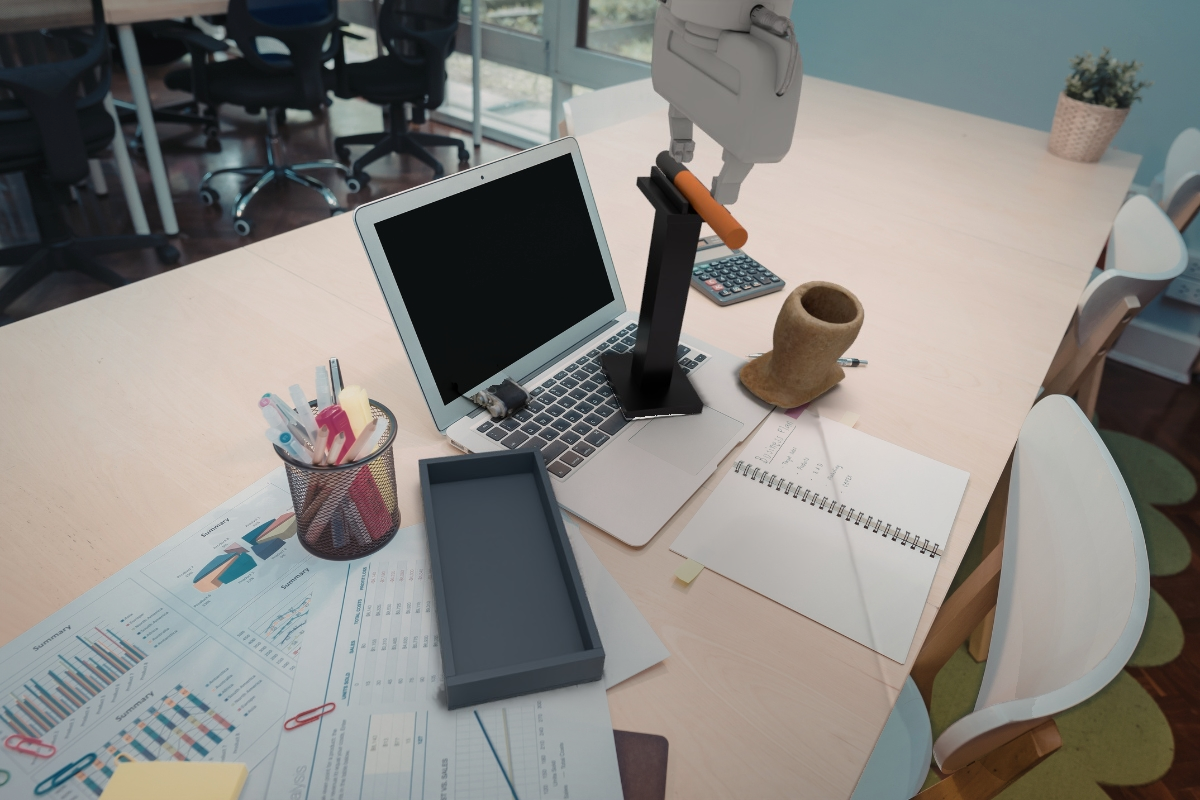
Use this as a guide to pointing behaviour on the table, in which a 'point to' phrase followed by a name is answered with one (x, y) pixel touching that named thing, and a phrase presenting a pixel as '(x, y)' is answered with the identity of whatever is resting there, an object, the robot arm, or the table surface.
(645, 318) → the headphone stand
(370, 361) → the table surface
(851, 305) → the stone cup
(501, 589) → the tray
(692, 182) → the orange marker pen
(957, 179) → the table surface
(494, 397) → the camera
